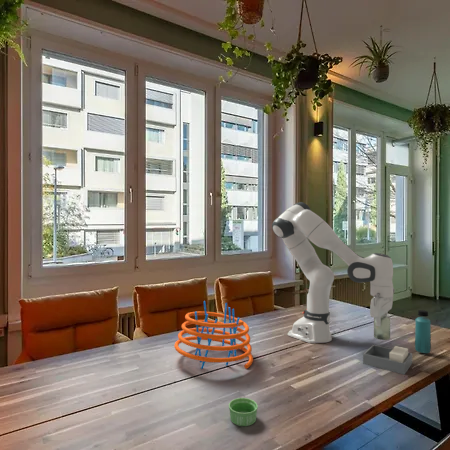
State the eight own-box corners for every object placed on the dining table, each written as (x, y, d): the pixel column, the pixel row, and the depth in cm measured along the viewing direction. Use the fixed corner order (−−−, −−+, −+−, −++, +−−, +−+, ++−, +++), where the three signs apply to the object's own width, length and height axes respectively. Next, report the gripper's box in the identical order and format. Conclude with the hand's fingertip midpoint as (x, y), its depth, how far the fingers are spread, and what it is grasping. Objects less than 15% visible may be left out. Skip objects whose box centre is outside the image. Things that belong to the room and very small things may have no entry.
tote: (362, 365, 147) (363, 353, 147) (372, 355, 158) (373, 344, 158) (404, 376, 137) (404, 364, 137) (412, 365, 148) (412, 353, 148)
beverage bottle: (433, 357, 157) (434, 313, 156) (417, 355, 158) (417, 312, 158) (427, 351, 163) (428, 309, 163) (412, 350, 165) (413, 308, 164)
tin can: (371, 337, 149) (371, 317, 149) (376, 333, 154) (376, 314, 153) (387, 341, 145) (387, 320, 144) (392, 337, 149) (392, 317, 149)
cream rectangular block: (389, 368, 143) (389, 352, 143) (395, 360, 151) (395, 345, 150) (402, 372, 140) (402, 356, 139) (408, 364, 147) (408, 348, 147)
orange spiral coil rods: (204, 342, 177) (210, 295, 177) (266, 363, 157) (272, 310, 158) (156, 358, 148) (162, 302, 148) (224, 387, 129) (231, 323, 129)
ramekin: (232, 409, 114) (233, 395, 113) (260, 413, 111) (260, 400, 111) (225, 424, 105) (225, 410, 105) (254, 430, 102) (254, 415, 102)
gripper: (382, 296, 139) (382, 331, 139) (395, 288, 155) (395, 319, 155) (366, 294, 143) (365, 328, 143) (380, 286, 159) (380, 316, 159)
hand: (381, 323), depth 149 cm, fingers closed on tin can, 6 cm apart
